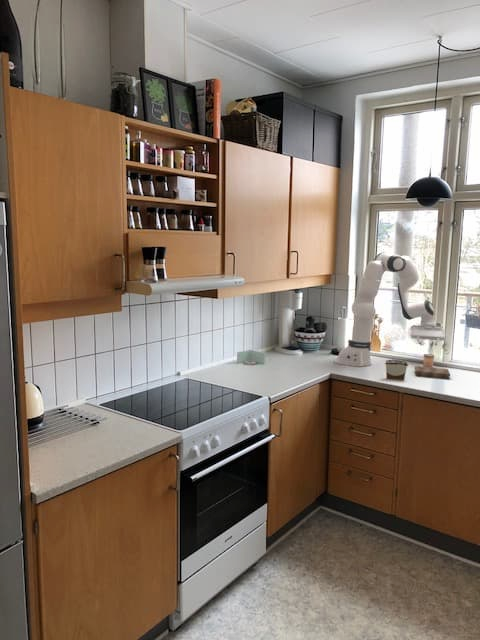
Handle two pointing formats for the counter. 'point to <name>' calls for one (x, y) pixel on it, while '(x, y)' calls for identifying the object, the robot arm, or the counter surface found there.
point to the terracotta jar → (428, 360)
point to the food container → (395, 369)
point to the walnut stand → (432, 372)
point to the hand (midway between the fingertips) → (428, 344)
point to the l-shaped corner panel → (251, 357)
